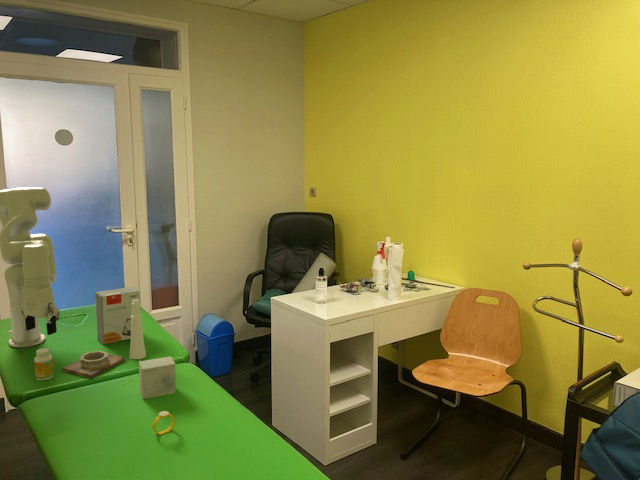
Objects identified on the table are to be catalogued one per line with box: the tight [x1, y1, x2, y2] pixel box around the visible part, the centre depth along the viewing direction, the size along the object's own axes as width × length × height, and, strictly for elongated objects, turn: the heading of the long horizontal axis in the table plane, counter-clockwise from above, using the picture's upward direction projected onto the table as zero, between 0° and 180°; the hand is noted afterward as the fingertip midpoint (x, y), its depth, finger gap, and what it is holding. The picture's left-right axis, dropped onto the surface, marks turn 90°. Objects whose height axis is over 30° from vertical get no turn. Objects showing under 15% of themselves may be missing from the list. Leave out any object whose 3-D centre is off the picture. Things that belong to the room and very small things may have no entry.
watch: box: [152, 410, 176, 436], centre depth 147 cm, size 6×3×6 cm, turn 133°
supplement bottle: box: [33, 347, 54, 381], centre depth 178 cm, size 5×5×10 cm
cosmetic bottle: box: [129, 299, 147, 360], centre depth 195 cm, size 6×6×22 cm
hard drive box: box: [95, 286, 142, 345], centre depth 212 cm, size 16×8×20 cm, turn 129°
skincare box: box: [138, 356, 177, 400], centre depth 169 cm, size 10×6×10 cm, turn 118°
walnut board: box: [62, 350, 126, 379], centre depth 188 cm, size 13×16×4 cm
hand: (41, 331), depth 175 cm, fingers open, 9 cm apart
